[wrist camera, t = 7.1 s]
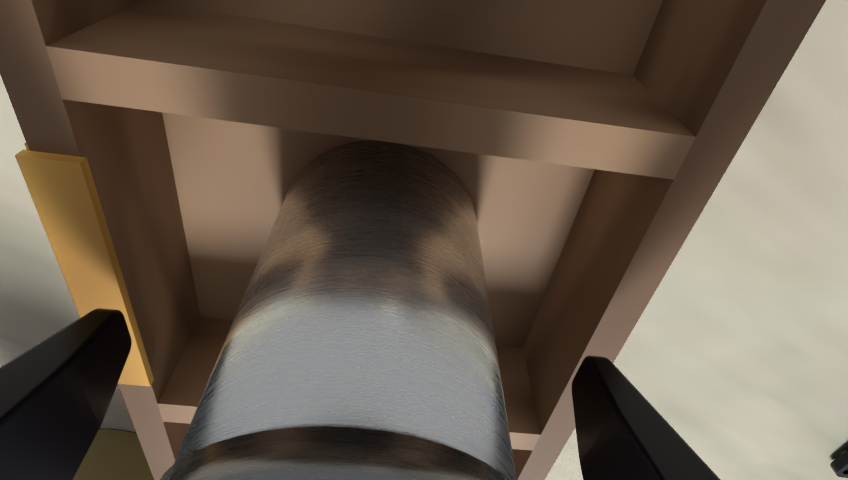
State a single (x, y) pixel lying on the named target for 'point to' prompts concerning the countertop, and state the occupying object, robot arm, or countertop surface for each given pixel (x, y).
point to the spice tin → (360, 336)
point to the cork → (114, 458)
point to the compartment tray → (390, 122)
